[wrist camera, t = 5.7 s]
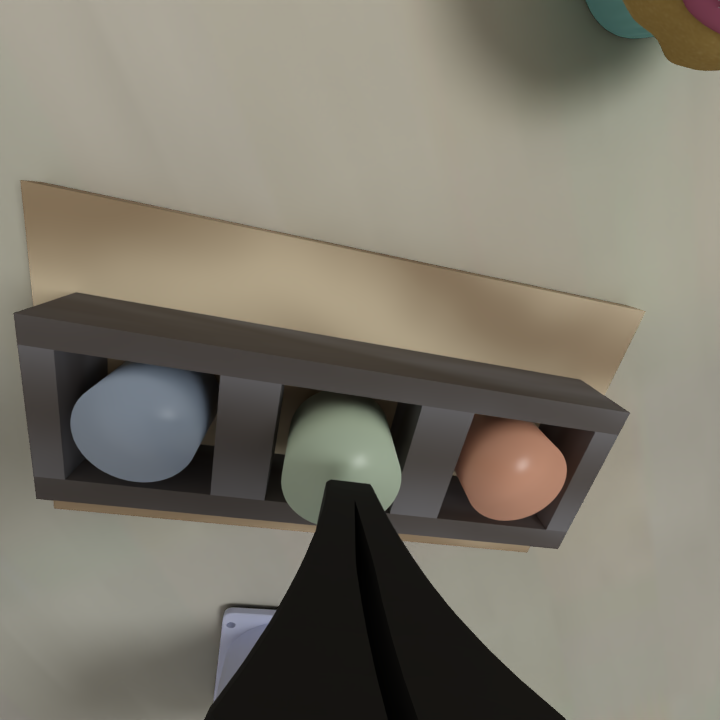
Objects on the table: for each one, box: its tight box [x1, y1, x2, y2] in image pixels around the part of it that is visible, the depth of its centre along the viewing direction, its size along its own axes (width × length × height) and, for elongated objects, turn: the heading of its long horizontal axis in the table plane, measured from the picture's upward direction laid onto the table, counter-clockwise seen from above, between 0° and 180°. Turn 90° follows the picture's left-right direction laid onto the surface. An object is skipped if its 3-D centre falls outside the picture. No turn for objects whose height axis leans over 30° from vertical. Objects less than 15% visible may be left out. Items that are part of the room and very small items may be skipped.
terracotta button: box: [454, 414, 567, 521], centre depth 16 cm, size 4×4×3 cm
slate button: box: [70, 361, 219, 482], centre depth 14 cm, size 4×4×3 cm
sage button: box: [281, 391, 401, 524], centre depth 14 cm, size 4×4×3 cm
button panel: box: [14, 180, 646, 552], centre depth 16 cm, size 14×24×4 cm, turn 78°
